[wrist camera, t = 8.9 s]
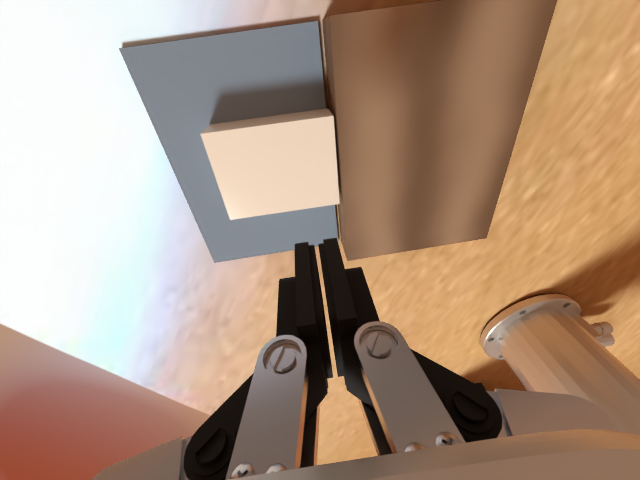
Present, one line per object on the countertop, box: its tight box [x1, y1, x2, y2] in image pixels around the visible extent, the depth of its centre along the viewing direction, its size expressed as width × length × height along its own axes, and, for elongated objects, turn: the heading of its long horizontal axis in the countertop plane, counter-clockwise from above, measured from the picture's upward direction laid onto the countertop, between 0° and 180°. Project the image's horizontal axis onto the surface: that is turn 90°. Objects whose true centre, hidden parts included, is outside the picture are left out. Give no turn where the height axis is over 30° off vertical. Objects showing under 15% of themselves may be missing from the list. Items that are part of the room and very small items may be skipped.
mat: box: [119, 21, 338, 263], centre depth 20 cm, size 11×16×1 cm
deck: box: [322, 0, 557, 261], centre depth 20 cm, size 12×16×3 cm
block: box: [200, 108, 340, 220], centre depth 19 cm, size 8×6×2 cm
